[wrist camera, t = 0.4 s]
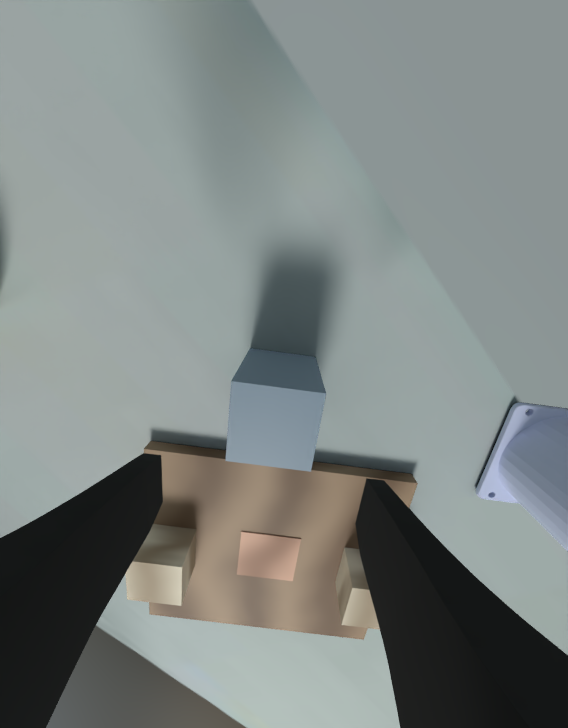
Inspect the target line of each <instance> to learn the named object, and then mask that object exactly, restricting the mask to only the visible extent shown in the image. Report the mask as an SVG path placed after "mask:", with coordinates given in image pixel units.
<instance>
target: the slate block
mask: <svg viewBox="0 0 568 728" xmlns="http://www.w3.org/2000/svg"><path fill="white" fill-rule="evenodd" d="M325 397H326V392H325V388H324V385H323V381H322V378H321V374H320V371H319V367H318V364H317V360H316V357H313V356H305V355H298V354H290V353H282V352H275V351H267V350H260V349H252V348H250V350H249V351H248V353H247V355H246V357H245V358H244V360H243V362H242V363H241V365H240V367H239V369H238V370H237V372H236V374H235V376H234V377H233V379H232V381H231V392H230V406H229V419H228V433H227V446H226V460H225V461H230V462H238V463H246V464H254V465H261V466H269V467H277V468H285V469H293V470H301V471H309V472H311V469H312V464H313V459H314V453H315V448H316V443H317V438H318V433H319V428H320V422H321V417H322V412H323V407H324V402H325Z"/></svg>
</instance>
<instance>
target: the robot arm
mask: <svg viewBox="0 0 568 728" xmlns="http://www.w3.org/2000/svg"><path fill="white" fill-rule="evenodd" d="M528 409H529V410H528ZM527 410H528V411H527ZM526 411H527V412H526ZM525 412H526V413H525ZM476 494H477V495H478V497H480V498H481V499H488V500H496V501H504V502H511V503H519V504H521V505H522V506H523V507H524V508H525V509H526V510H527V511H528V512H529V513H530V514H531V515H532V516H533V517H534V518H535V519H536V520H537V521H538V522H539V523H540V524H541V525H542V526H543V527H544V528H545V529H546V530H547V531H548V532H549V533H550V534H551V535H552V536H553V537H554V538H555V539H556V540H557V541H558V542H559V543H560V544H561V545H562V546H563V547H564V548H565V549H566V550H567V551H568V409H567V408H560V407H552V406H545V405H536V404H529V403H522V402H519V403H516V404H514V405H513V406H512V407H511V409H510V411H509V414H508V416H507V418H506V421H505V423H504V425H503V428H502V430H501V432H500V435H499V437H498V439H497V442H496V444H495V446H494V449H493V451H492V453H491V456H490V458H489V460H488V463H487V465H486V467H485V470H484V472H483V474H482V477H481V479H480V481H479V484H478V486H477V488H476ZM162 503H163V489H162V459H161V455H156V454H147V453H143V454H142V455H140V456H138V457H137V458H135V459H134V460H132V461H130V462H129V463H127V464H126V465H124V466H123V467H121V468H120V469H118V470H117V471H115V472H113V473H112V474H110V475H109V476H107V477H106V478H104V479H102V480H101V481H99V482H98V483H96V484H95V485H93V486H91V487H90V488H88V489H87V490H85V491H83V492H82V493H80V494H79V495H77V496H75V497H73V498H72V499H70V500H68V501H67V502H65V503H63V504H62V505H60V506H58V507H56V508H55V509H53V510H51V511H50V512H48V513H46V514H44V515H43V516H41V517H39V518H37V519H36V520H34V521H32V522H30V523H28V524H26V525H25V526H23V527H21V528H19V529H17V530H15V531H13V532H11V533H9V534H7V535H5V536H4V537H2V538H0V728H46V726H47V724H48V722H49V720H50V717H51V716H52V714H53V712H54V709H55V707H56V705H57V703H58V701H59V699H60V697H61V695H62V692H63V690H64V688H65V686H66V684H67V682H68V680H69V678H70V676H71V674H72V671H73V670H74V668H75V665H76V663H77V661H78V659H79V657H80V655H81V653H82V651H83V649H84V647H85V645H86V643H87V641H88V639H89V637H90V635H91V633H92V631H93V629H94V627H95V625H96V624H97V622H98V620H99V618H100V616H101V614H102V613H103V611H104V609H105V607H106V606H107V604H108V602H109V601H110V599H111V597H112V595H113V594H114V592H115V590H116V589H117V587H118V585H119V584H120V582H121V580H122V578H123V577H124V575H125V573H126V572H127V570H128V568H129V567H130V565H131V563H132V561H133V560H134V558H135V556H136V555H137V553H138V551H139V549H140V548H141V546H142V544H143V542H144V541H145V539H146V537H147V535H148V534H149V532H150V530H151V528H152V525H153V523H154V521H155V519H156V517H157V514H158V512H159V510H160V507H161V505H162ZM355 525H356V532H357V539H358V545H359V551H360V557H361V560H362V564H363V568H364V572H365V576H366V580H367V583H368V587H369V591H370V594H371V598H372V602H373V606H374V609H375V613H376V617H377V620H378V624H379V628H380V631H381V635H382V639H383V643H384V647H385V651H386V655H387V660H388V664H389V669H390V675H391V680H392V685H393V690H394V695H395V701H396V706H397V711H398V717H399V722H400V728H568V655H566V654H565V653H564V652H563V651H561V650H560V649H559V648H558V647H557V646H555V645H554V644H553V643H552V642H550V641H549V640H548V639H547V638H545V637H544V636H543V635H542V634H541V633H539V632H538V631H537V630H536V629H534V628H533V627H532V626H531V625H529V624H528V623H527V622H526V621H525V620H524V619H522V618H521V617H520V616H519V615H518V614H516V613H515V612H514V611H513V610H512V609H511V608H509V607H508V606H507V605H506V604H505V603H504V602H503V601H502V600H501V599H499V598H498V597H497V596H496V595H495V594H494V593H493V592H492V591H490V590H489V589H488V588H487V587H486V586H485V585H484V584H483V583H482V582H480V581H479V580H478V579H477V578H476V577H475V576H474V575H473V574H472V573H471V572H470V571H469V570H468V569H467V568H466V567H465V566H464V565H463V564H462V563H461V562H460V561H459V560H458V559H457V558H456V557H455V556H454V555H453V554H452V553H451V552H449V551H448V550H447V549H446V547H445V546H444V545H443V544H442V543H441V542H440V541H439V540H438V539H437V538H436V537H435V536H434V535H433V534H432V533H431V532H430V531H429V530H428V529H427V528H426V526H425V525H424V524H423V523H422V522H421V521H420V520H419V519H418V518H417V517H416V516H415V514H414V513H413V512H412V511H411V510H410V509H409V508H408V507H407V505H406V504H405V503H404V502H403V501H402V500H401V499H400V498H399V496H398V495H397V494H396V493H395V492H394V491H393V490H392V489H391V487H390V486H389V485H388V484H387V483H386V482H385V481H384V480H377V479H368V478H366V482H365V486H364V490H363V494H362V498H361V502H360V506H359V511H358V515H357V519H356V523H355Z"/></svg>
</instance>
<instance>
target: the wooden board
mask: <svg viewBox="0 0 568 728" xmlns="http://www.w3.org/2000/svg"><path fill="white" fill-rule="evenodd" d="M144 453H147V454H156V455H161V459H162V489H163V503H162V505H161V507H160V510H159V512H158V514H157V517H156V519H155V521H154V523H153V525H152V528H151V530H150V532H149V534H148V535H147V537H146V539H145V541H144V542H143V544H142V546H141V548H140V549H139V551H138V553H137V555H136V556H135V558H134V560H133V561H132V563H131V565H130V567H129V568H128V570H127V572H126V586H127V600H136V601H144V602H149V610H150V614H151V615H160V616H168V617H177V618H185V619H194V620H202V621H211V622H219V623H228V624H236V625H245V626H253V627H262V628H270V629H279V630H287V631H296V632H304V633H313V634H321V635H330V636H338V637H347V638H355V639H364V637H365V634H366V631H367V629H368V628H372V629H380V628H379V624H378V620H377V617H376V613H375V609H374V606H373V602H372V598H371V594H370V591H369V587H368V583H367V580H366V576H365V572H364V568H363V564H362V560H361V557H360V551H359V545H358V539H357V532H356V525H355V523H356V519H357V515H358V511H359V506H360V502H361V498H362V494H363V490H364V486H365V482H366V478H368V479H377V480H384V481H385V482H386V483H387V484H388V485H389V486H390V487H391V489H392V490H393V491H394V492H395V493H396V494H397V495H398V496H399V498H400V499H401V500H402V501H403V502H404V503H405V504H406V505H407V507H408V508H409V507H410V504H411V501H412V498H413V495H414V492H415V489H416V487H417V484H418V483H417V482H416V480H415V478H414V477H413V475H412V474H407V473H400V472H392V471H384V470H376V469H368V468H360V467H352V466H344V465H336V464H329V463H321V462H313V464H312V469H311V472H309V471H301V470H293V469H285V468H277V467H269V466H261V465H254V464H246V463H238V462H230V461H225V460H226V450H218V449H210V448H202V447H194V446H187V445H179V444H171V443H163V442H155V441H150V443H149V444H148V445H147V446H146V447H145V448H144Z"/></svg>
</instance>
